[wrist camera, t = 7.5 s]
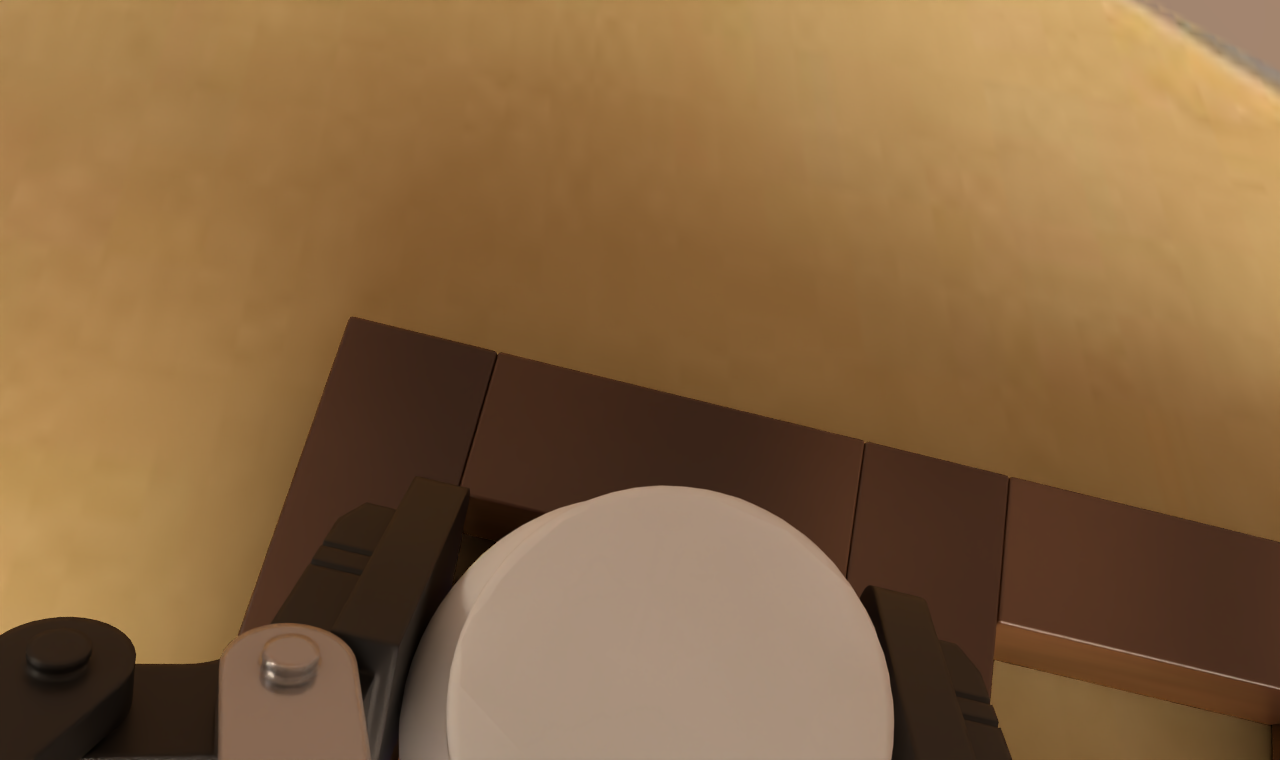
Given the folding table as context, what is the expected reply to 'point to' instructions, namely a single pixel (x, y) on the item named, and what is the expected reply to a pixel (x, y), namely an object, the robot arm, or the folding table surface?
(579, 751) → the pill bottle
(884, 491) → the peg board
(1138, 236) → the folding table surface
